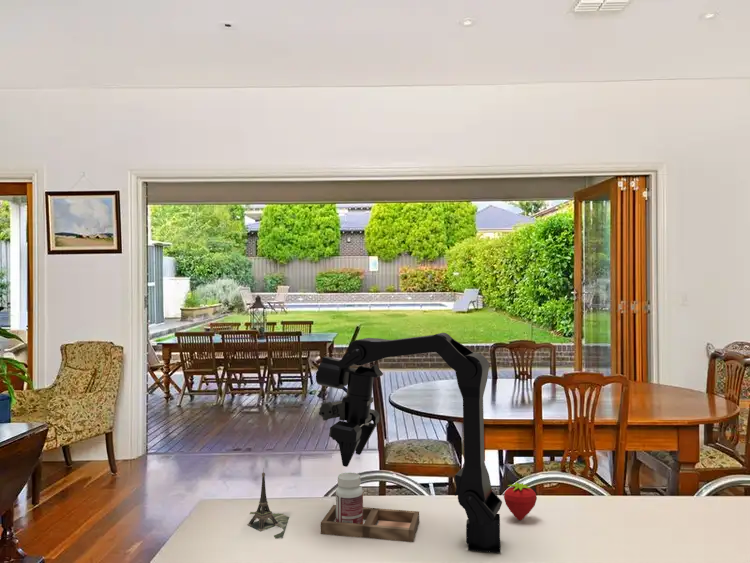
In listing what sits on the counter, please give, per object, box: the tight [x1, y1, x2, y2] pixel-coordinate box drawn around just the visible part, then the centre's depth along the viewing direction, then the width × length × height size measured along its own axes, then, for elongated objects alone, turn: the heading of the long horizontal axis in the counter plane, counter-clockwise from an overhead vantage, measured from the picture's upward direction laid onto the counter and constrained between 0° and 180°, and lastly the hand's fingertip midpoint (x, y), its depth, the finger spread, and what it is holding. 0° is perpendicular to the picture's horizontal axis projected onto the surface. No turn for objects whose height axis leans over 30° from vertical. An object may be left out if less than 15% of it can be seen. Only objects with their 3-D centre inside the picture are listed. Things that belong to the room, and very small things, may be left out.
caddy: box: [320, 504, 420, 543], centre depth 128 cm, size 20×10×2 cm, turn 79°
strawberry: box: [503, 479, 538, 521], centre depth 133 cm, size 6×8×10 cm
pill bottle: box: [335, 472, 364, 524], centre depth 130 cm, size 6×6×11 cm
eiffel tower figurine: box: [246, 468, 290, 540], centre depth 130 cm, size 15×10×13 cm
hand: (351, 460), depth 132 cm, fingers open, 9 cm apart
